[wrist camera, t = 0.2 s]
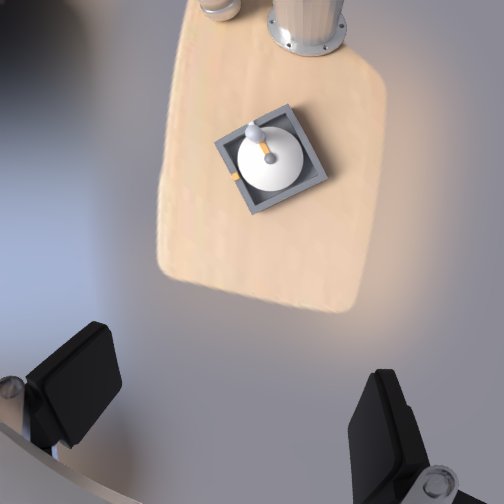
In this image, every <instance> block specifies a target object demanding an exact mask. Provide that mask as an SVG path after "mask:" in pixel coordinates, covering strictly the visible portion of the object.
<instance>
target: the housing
mask: <svg viewBox="0 0 504 504" xmlns="http://www.w3.org/2000/svg"><path fill="white" fill-rule="evenodd" d="M250 125H257V126H258V127H259V128H264V127H277V128H281V129H283V130H285V131H287V132H289V133H290V134H292V135H293V136H294V137H295V138H296V140H297V141H298V142H299V144H300V146H301V149H302V152H303V166H302V170H301V172H300V174H299V176H298V177H297V179H296V180H295V181H294V182H293V183H292V184H291V185H289V186H288V187H286V188H284V189H281V190H277V191H264V190H260V189H258V188H256V187H254V186H252V185H251V184H249V183H248V182H247V181H246V180H245V178H244V177H243V176H242V174H241V172H240V170H239V166H238V152H239V148H240V146H241V144H242V142H243V141H244V139H245V138H246V135H245V130H246V128H247V127H248V126H250ZM214 144H215V145H216V147H217V149H218V151H219V153H220V155H221V157H222V159H223V160H224V162H225V164H226V166H227V168H228V170H229V172H230V174H231V176H232V178H233V180H234V181H235V183H236V185H237V187H238V189H239V191H240V193H241V195H242V197H243V198H244V200H245V202H246V204H247V206H248V208H249V210H250V212H251V214H252V215H253V214H256V213H258V212H260V211H262V210H264V209H266V208H268V207H270V206H272V205H274V204H276V203H278V202H280V201H282V200H284V199H286V198H288V197H290V196H292V195H294V194H296V193H299V192H301V191H303V190H305V189H307V188H309V187H311V186H313V185H315V184H317V183H320V182H322V181H324V180H326V179H328V177H327V175H326V173H325V171H324V169H323V167H322V165H321V163H320V161H319V159H318V157H317V155H316V153H315V151H314V149H313V148H312V146H311V144H310V142H309V140H308V138H307V136H306V134H305V133H304V131H303V129H302V127H301V125H300V123H299V122H298V120H297V118H296V116H295V115H294V113H293V111H292V109H291V108H290V106H289V104H286V105H284V106H282V107H280V108H278V109H276V110H274V111H272V112H270V113H268V114H266V115H264V116H262V117H260V118H258V119H256V120H254V121H252V122H250V123H248V124H246V125H245V126H243V127H241V128H239V129H237V130H235V131H233V132H232V133H230V134H228V135H226V136H224V137H223V138H221V139H219V140H217V141H216V142H214Z"/></svg>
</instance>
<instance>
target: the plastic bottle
mask: <svg viewBox="0 0 504 504" xmlns="http://www.w3.org/2000/svg"><path fill="white" fill-rule="evenodd" d="M198 1H199V3H200V6H201V9H202V11H203V13H204V15H205V16H207V17H208V18H209V19H211V20H213V21H226V20H229V19H231V18H233V17H234V16H235V15H237V13H238V12H239V11H240V8H241V0H198Z"/></svg>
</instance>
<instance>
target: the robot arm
mask: <svg viewBox="0 0 504 504" xmlns="http://www.w3.org/2000/svg"><path fill="white" fill-rule="evenodd" d="M272 1H273V6H274V7H273V8H272V10H271V11H270V13H269V15H268V19H267V27H268V31H269V33H270V36H271V37H272V39H273V40H274V42H275V43H276V44H278V45H279V46H280V47H281V48H283V49H284V50H286V51H288V52H291V53H293V54H297V55H301V56H321V55H325V54H328V53H330V52H332V51H334V50H335V49H337V48H338V47H339V46H340V45H341V44H342V42H343V41H344V38H345V35H346V31H347V26H346V22H345V19H344V17H343V15H342V14H341V11H342V6H343V2H344V0H272ZM271 23H273V24H271ZM340 27H341V28H340ZM289 46H290V48H289ZM324 49H326V50H324ZM26 379H27V383H26V384H25V383H24V382H23V380H22V379H21V378H19V377H17V376H6V377H4V378H1V379H0V504H143V503H140V502H138V501H135V500H133V499H130V498H128V497H126V496H123V495H121V494H119V493H117V492H115V491H113V490H110V489H108V488H106V487H104V486H102V485H100V484H98V483H96V482H94V481H92V480H90V479H88V478H87V477H85V476H83V475H81V474H79V473H78V472H76V471H74V470H72V469H71V468H69V467H67V466H66V465H64V464H62V463H61V462H59V461H58V457H57V448H56V444H57V442H58V441H59V442H60V443H61V444H63V445H64V446H66V447H68V448H69V449H71V448H72V447H73V446H74V445H75V444H78V443H79V442H80V441H81V440H82V439H83V437H84V436H85V435H86V433H87V432H88V431H89V429H90V428H91V427H92V426H93V424H94V423H95V422H96V420H97V419H98V418H99V416H100V415H101V414H102V413H103V411H104V410H105V409H106V407H107V406H108V405H109V404H110V402H111V401H112V400H113V398H114V397H115V396H116V395H117V393H118V392H119V391H120V389H121V387H122V380H121V375H120V371H119V367H118V363H117V358H116V353H115V349H114V344H113V338H112V333H111V331H110V330H109V328H108V326H107V325H105V324H102V323H99V322H96V321H93V322H91V323H90V324H88V325H87V326H86V327H84V328H83V329H82V330H81V331H79V332H78V333H77V334H76V335H74V336H73V337H72V338H71V339H70V340H68V341H67V342H66V343H65V344H63V345H62V346H61V347H60V348H59V349H58V350H56V351H55V352H54V353H53V354H51V355H50V356H49V357H48V358H47V359H46V360H44V361H43V362H42V363H41V364H40V365H38V366H37V367H36V368H35V369H34V370H33V371H31V372H30V373H29V374H28V375H27V376H26ZM348 438H349V449H350V460H351V473H352V488H353V504H487V503H485V502H482V501H480V500H478V499H476V498H474V497H472V496H470V495H468V494H466V493H464V492H462V491H460V490H458V487H459V480H458V477H457V475H456V473H455V472H454V471H453V470H452V469H450V468H449V467H447V466H443V465H434V466H430V463H429V460H428V456H427V453H426V450H425V447H424V443H423V441H422V437H421V434H420V431H419V428H418V425H417V422H416V419H415V417H414V414H413V411H412V409H411V407H410V406H408V405H407V404H406V401H405V398H404V395H403V393H402V390H401V387H400V385H399V382H398V379H397V377H396V374H395V372H394V370H392V369H377V370H376V371H375V373H371V374H370V376H369V378H368V381H367V383H366V386H365V388H364V391H363V393H362V396H361V398H360V400H359V403H358V405H357V407H356V410H355V412H354V414H353V416H352V418H351V421H350V423H349V426H348Z"/></svg>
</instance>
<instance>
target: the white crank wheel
mask: <svg viewBox="0 0 504 504" xmlns="http://www.w3.org/2000/svg"><path fill="white" fill-rule="evenodd" d="M245 135H246V138H245V139H244V141H243V142H242V144H241V146H240V148H239V152H238V166H239V170H240V172H241V174H242V176H243V177H244V178H245V180H246V181H247V182H248V183H249V184H251V185H252V186H254V187H256V188H258V189H260V190H264V191H277V190H281V189H284V188H286V187H288V186H289V185H291V184H292V183H293V182H294V181H295V180H296V179H297V177H298V176H299V174H300V172H301V170H302V166H303V152H302V149H301V146H300V144H299V142H298V141H297V140H296V138H295V137H294V136H293V135H292V134H290V133H289V132H287V131H285V130H283V129H281V128H277V127H264V128H259V127H258V126H257V125H250V126H248V127H247V128H246V130H245Z"/></svg>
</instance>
